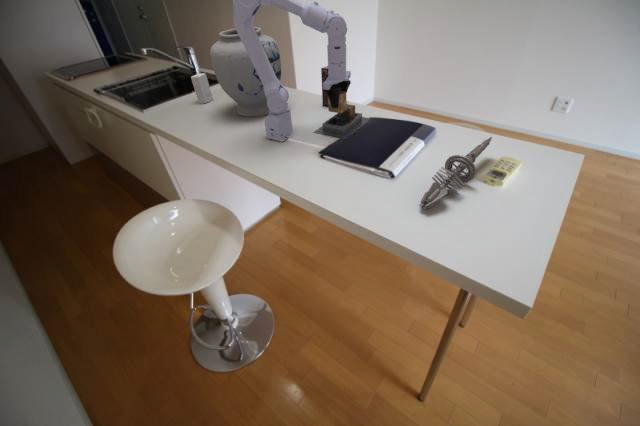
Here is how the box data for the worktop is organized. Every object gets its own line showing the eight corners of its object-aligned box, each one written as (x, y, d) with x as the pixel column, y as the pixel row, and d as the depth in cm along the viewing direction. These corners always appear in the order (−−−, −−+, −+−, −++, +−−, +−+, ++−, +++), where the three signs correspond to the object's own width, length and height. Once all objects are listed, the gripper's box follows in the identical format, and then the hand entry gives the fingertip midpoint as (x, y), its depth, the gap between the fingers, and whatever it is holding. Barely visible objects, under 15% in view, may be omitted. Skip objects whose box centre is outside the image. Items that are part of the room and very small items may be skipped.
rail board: (345, 142, 97) (345, 132, 95) (313, 135, 103) (312, 125, 101) (370, 120, 109) (371, 111, 107) (340, 115, 115) (340, 106, 113)
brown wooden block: (350, 125, 105) (350, 109, 101) (338, 123, 107) (337, 107, 103) (355, 121, 107) (355, 105, 104) (343, 119, 110) (343, 103, 106)
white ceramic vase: (277, 122, 114) (263, 34, 95) (215, 121, 118) (190, 37, 99) (292, 99, 134) (283, 22, 115) (239, 99, 139) (221, 26, 119)
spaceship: (512, 136, 77) (487, 119, 79) (445, 208, 61) (416, 185, 63) (493, 156, 83) (470, 139, 85) (428, 225, 68) (402, 203, 70)
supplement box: (331, 110, 120) (330, 69, 110) (322, 108, 123) (320, 68, 113) (343, 103, 125) (342, 64, 115) (333, 102, 128) (332, 62, 118)
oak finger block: (341, 113, 97) (340, 95, 93) (328, 111, 99) (327, 93, 95) (346, 109, 99) (346, 91, 96) (334, 107, 102) (333, 89, 98)
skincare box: (206, 99, 142) (198, 72, 134) (214, 99, 141) (206, 73, 133) (198, 103, 138) (189, 76, 130) (206, 104, 136) (197, 76, 128)
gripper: (336, 68, 83) (337, 114, 92) (359, 57, 92) (358, 100, 101) (316, 66, 86) (318, 111, 95) (340, 55, 95) (340, 97, 104)
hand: (337, 105), depth 98 cm, fingers closed on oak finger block, 4 cm apart
